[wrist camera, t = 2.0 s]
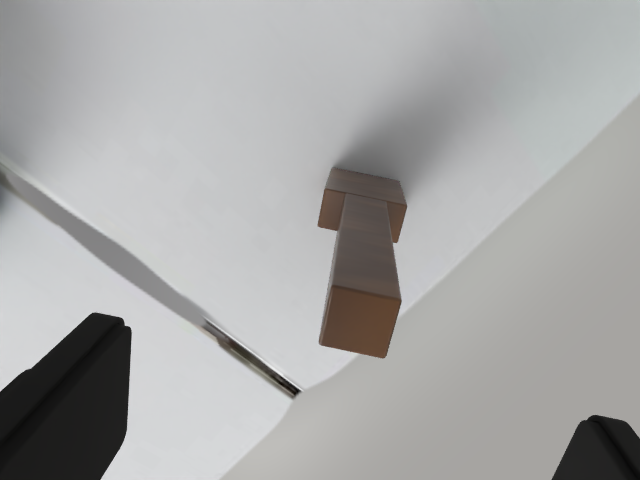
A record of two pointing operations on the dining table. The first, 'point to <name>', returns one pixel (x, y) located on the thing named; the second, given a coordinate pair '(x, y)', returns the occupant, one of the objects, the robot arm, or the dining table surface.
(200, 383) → the dining table surface
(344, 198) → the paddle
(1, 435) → the robot arm
